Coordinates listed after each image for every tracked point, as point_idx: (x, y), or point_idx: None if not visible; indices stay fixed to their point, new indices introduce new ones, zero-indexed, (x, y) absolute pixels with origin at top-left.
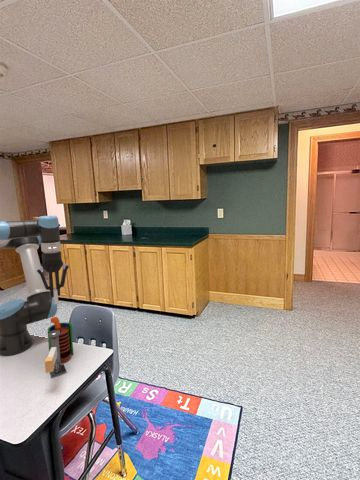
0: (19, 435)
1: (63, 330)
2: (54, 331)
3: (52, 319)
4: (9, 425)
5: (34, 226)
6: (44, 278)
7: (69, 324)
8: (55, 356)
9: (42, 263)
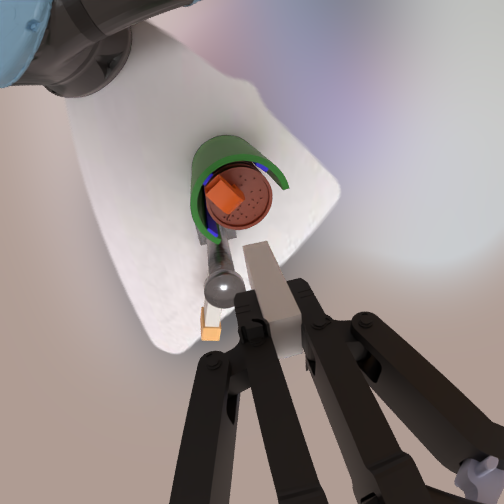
0: (172, 347)
1: (251, 193)
2: (226, 287)
3: (215, 202)
4: (152, 330)
5: None
6: (224, 492)
7: (281, 185)
8: None
9: None
